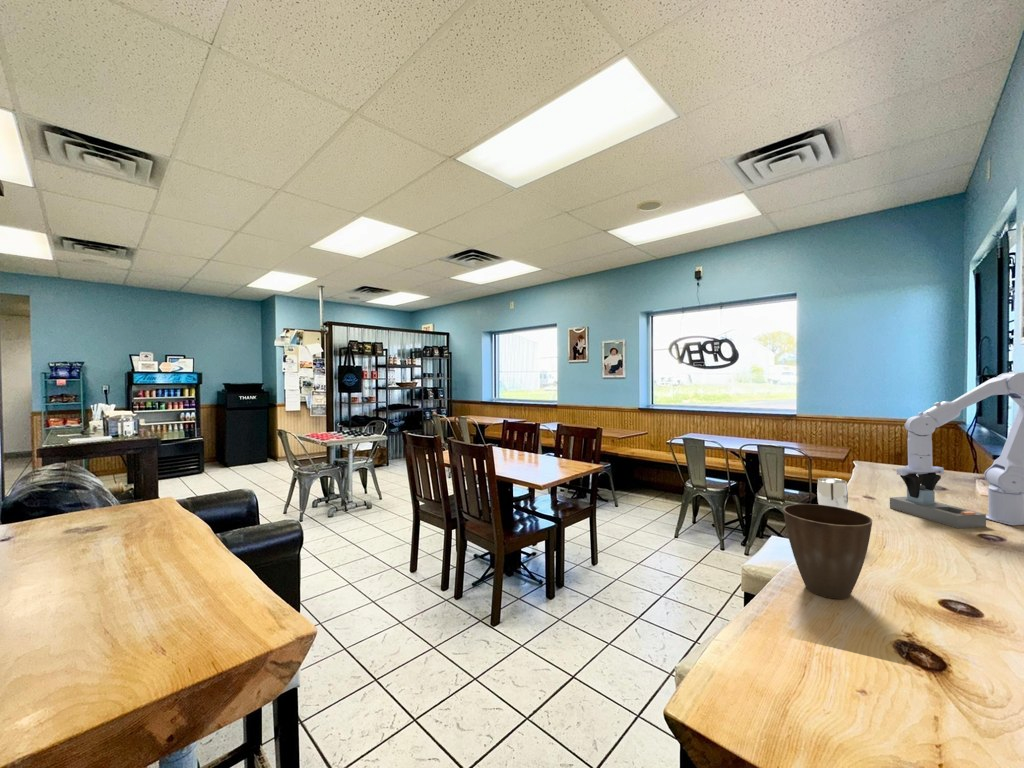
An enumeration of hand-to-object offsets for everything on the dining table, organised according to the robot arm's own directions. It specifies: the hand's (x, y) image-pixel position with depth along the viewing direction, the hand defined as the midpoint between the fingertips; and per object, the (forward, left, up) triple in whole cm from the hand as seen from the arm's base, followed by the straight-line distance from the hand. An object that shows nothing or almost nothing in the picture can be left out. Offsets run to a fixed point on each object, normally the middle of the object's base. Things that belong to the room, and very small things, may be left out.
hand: (920, 496), depth 137 cm
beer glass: (+41, +12, -5) cm, 44 cm away
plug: (0, 0, -4) cm, 4 cm away
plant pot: (+69, +41, -5) cm, 81 cm away
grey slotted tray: (0, +4, -5) cm, 6 cm away
